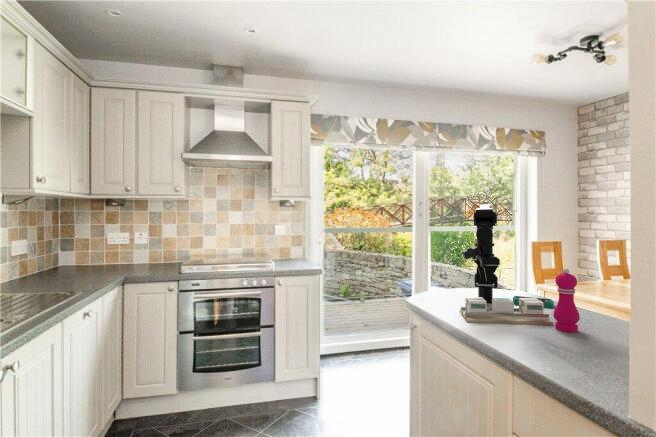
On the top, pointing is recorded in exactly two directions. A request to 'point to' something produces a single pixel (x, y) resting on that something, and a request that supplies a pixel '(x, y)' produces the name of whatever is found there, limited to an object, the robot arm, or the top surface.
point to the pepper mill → (566, 303)
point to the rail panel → (525, 314)
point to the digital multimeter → (547, 302)
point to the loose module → (502, 305)
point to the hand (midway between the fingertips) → (485, 280)
